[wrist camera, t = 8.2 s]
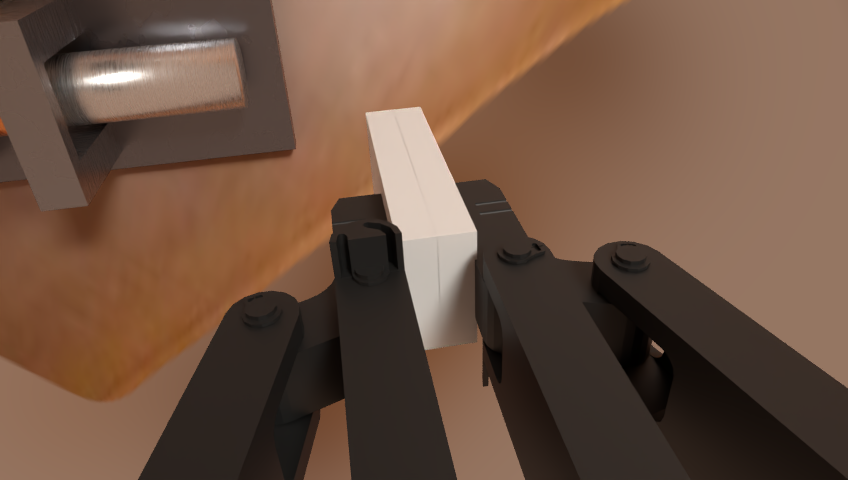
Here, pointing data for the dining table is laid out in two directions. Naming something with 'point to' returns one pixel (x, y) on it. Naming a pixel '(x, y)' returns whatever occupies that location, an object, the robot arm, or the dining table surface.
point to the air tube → (147, 81)
